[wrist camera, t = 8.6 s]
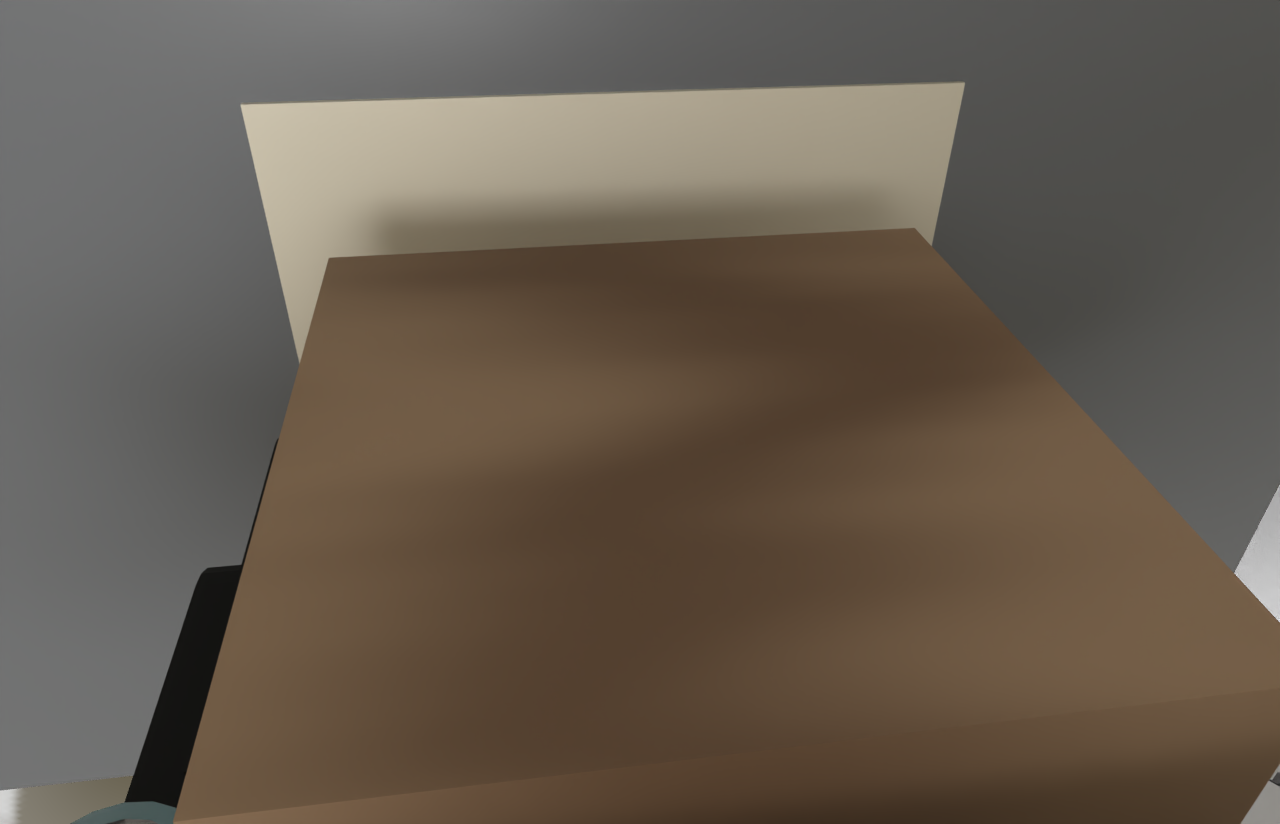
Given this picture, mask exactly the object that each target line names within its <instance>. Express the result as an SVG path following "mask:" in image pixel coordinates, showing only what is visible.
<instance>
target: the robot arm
mask: <svg viewBox="0 0 1280 824" xmlns="http://www.w3.org/2000/svg"><path fill="white" fill-rule="evenodd" d="M278 440H279V438H278V439H277V441H276V443H275V446H274V449H273V453H272V457H271V460H270V464H269V467H268V471H267V474H266V478H265V482H264V485H263V489H262V492H261V496H260V500H259V503H258V507H257V510H256V514H255V517H254V521H253V525H252V528H251V532H250V535H249V539H248V542H247V546H246V550H245V553H244V557H243V560H242V564H241V565H232V566H221V567H210V568H206V569H205V570H204V571H203V572H202V573H201V575H200V577H199V579H198V581H197V584H196V586H195V589H194V592H193V595H192V598H191V601H190V604H189V607H188V610H187V613H186V616H185V619H184V622H183V626H182V629H181V632H180V635H179V638H178V641H177V644H176V647H175V650H174V653H173V656H172V659H171V662H170V665H169V668H168V671H167V674H166V678H165V681H164V684H163V687H162V690H161V693H160V696H159V699H158V702H157V705H156V708H155V711H154V714H153V717H152V720H151V723H150V726H149V730H148V733H147V736H146V739H145V742H144V745H143V748H142V751H141V754H140V757H139V760H138V763H137V766H136V769H135V772H134V775H133V778H132V782H131V785H130V788H129V791H128V794H127V797H126V800H125V803H121V804H118V805H114V806H111V807H107V808H104V809H101V810H97V811H94V812H91V813H89V814H88V815H86V816H84V817H82V818H80V819H78V820H76V821H75V822H73V823H71V824H174V823H173V820H174V816H175V812H176V809H177V805H178V802H179V798H180V794H181V791H182V787H183V784H184V780H185V776H186V773H187V769H188V765H189V762H190V758H191V755H192V751H193V747H194V744H195V740H196V737H197V733H198V729H199V726H200V722H201V718H202V715H203V711H204V708H205V704H206V700H207V697H208V693H209V690H210V686H211V682H212V679H213V675H214V671H215V668H216V664H217V661H218V657H219V653H220V650H221V646H222V643H223V639H224V635H225V632H226V628H227V624H228V621H229V617H230V614H231V610H232V606H233V603H234V599H235V596H236V592H237V588H238V585H239V581H240V577H241V574H242V570H243V567H244V563H245V559H246V556H247V552H248V549H249V545H250V541H251V538H252V534H253V530H254V527H255V523H256V520H257V516H258V512H259V509H260V505H261V501H262V498H263V494H264V491H265V487H266V483H267V480H268V476H269V473H270V469H271V465H272V462H273V458H274V454H275V451H276V447H277V444H278ZM1241 824H1280V764H1279V766H1278V767H1277V769H1276V770H1275V772H1274V773H1273V775H1272V777H1271V778H1270V780H1269V781H1268V783H1267V784H1266V786H1265V787H1264V789H1263V790H1262V792H1261V793H1260V795H1259V796H1258V798H1257V799H1256V801H1255V802H1254V804H1253V806H1252V807H1251V809H1250V810H1249V812H1248V813H1247V815H1246V816H1245V818H1244V819H1243V821H1242V822H1241Z"/></svg>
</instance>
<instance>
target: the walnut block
mask: <svg viewBox="0 0 1280 824" xmlns="http://www.w3.org/2000/svg"><path fill="white" fill-rule="evenodd" d="M1279 764H1280V623H1279V622H1278V620H1277V619H1276V618H1275V617H1274V616H1273V615H1272V614H1271V613H1270V612H1269V611H1268V610H1267V609H1266V607H1265V606H1264V605H1263V604H1262V603H1261V602H1260V601H1259V600H1258V599H1257V598H1256V597H1255V596H1254V594H1253V593H1252V592H1251V591H1250V590H1249V589H1248V588H1247V587H1246V586H1245V585H1244V584H1243V583H1242V581H1241V580H1240V579H1239V578H1238V577H1237V576H1236V575H1235V574H1234V573H1233V572H1232V571H1231V570H1230V568H1229V567H1228V566H1227V565H1226V564H1225V563H1224V562H1223V561H1222V560H1221V559H1220V558H1219V557H1218V555H1217V554H1216V553H1215V552H1214V551H1213V550H1212V549H1211V548H1210V547H1209V546H1208V545H1207V544H1206V543H1205V541H1204V540H1203V539H1202V538H1201V537H1200V536H1199V535H1198V534H1197V533H1196V532H1195V531H1194V530H1193V528H1192V527H1191V526H1190V525H1189V524H1188V523H1187V522H1186V521H1185V520H1184V519H1183V518H1182V517H1181V515H1180V514H1179V513H1178V512H1177V511H1176V510H1175V509H1174V508H1173V507H1172V506H1171V505H1170V504H1169V502H1168V501H1167V500H1166V499H1165V498H1164V497H1163V496H1162V495H1161V494H1160V493H1159V492H1158V491H1157V489H1156V488H1155V487H1154V486H1153V485H1152V484H1151V483H1150V482H1149V481H1148V480H1147V479H1146V478H1145V477H1144V475H1143V474H1142V473H1141V472H1140V471H1139V470H1138V469H1137V468H1136V467H1135V466H1134V465H1133V464H1132V462H1131V461H1130V460H1129V459H1128V458H1127V457H1126V456H1125V455H1124V454H1123V453H1122V452H1121V451H1120V449H1119V448H1118V447H1117V446H1116V445H1115V444H1114V443H1113V442H1112V441H1111V440H1110V439H1109V438H1108V436H1107V435H1106V434H1105V433H1104V432H1103V431H1102V430H1101V429H1100V428H1099V427H1098V426H1097V425H1096V423H1095V422H1094V421H1093V420H1092V419H1091V418H1090V417H1089V416H1088V415H1087V414H1086V413H1085V412H1084V411H1083V409H1082V408H1081V407H1080V406H1079V405H1078V404H1077V403H1076V402H1075V401H1074V400H1073V399H1072V398H1071V396H1070V395H1069V394H1068V393H1067V392H1066V391H1065V390H1064V389H1063V388H1062V387H1061V386H1060V385H1059V383H1058V382H1057V381H1056V380H1055V379H1054V378H1053V377H1052V376H1051V375H1050V374H1049V373H1048V372H1047V370H1046V369H1045V368H1044V367H1043V366H1042V365H1041V364H1040V363H1039V362H1038V361H1037V360H1036V359H1035V357H1034V356H1033V355H1032V354H1031V353H1030V352H1029V351H1028V350H1027V349H1026V348H1025V347H1024V346H1023V345H1022V343H1021V342H1020V341H1019V340H1018V339H1017V338H1016V337H1015V336H1014V335H1013V334H1012V333H1011V332H1010V330H1009V329H1008V328H1007V327H1006V326H1005V325H1004V324H1003V323H1002V322H1001V321H1000V320H999V319H998V317H997V316H996V315H995V314H994V313H993V312H992V311H991V310H990V309H989V308H988V307H987V306H986V304H985V303H984V302H983V301H982V300H981V299H980V298H979V297H978V296H977V295H976V294H975V293H974V291H973V290H972V289H971V288H970V287H969V286H968V285H967V284H966V283H965V282H964V281H963V280H962V278H961V277H960V276H959V275H958V274H957V273H956V272H955V271H954V270H953V269H952V268H951V267H950V266H949V264H948V263H947V262H946V261H945V260H944V259H943V258H942V257H941V256H940V255H939V254H938V253H937V251H936V250H935V249H934V248H933V247H932V246H931V245H930V244H929V243H928V242H927V241H926V240H925V238H924V237H923V236H922V235H921V234H920V233H919V232H918V231H917V230H916V229H915V228H903V229H884V230H864V231H844V232H825V233H805V234H785V235H766V236H746V237H726V238H707V239H687V240H667V241H648V242H628V243H608V244H589V245H569V246H549V247H530V248H510V249H490V250H471V251H451V252H431V253H412V254H392V255H372V256H353V257H333V258H329V259H328V263H327V266H326V270H325V274H324V277H323V281H322V285H321V288H320V292H319V295H318V299H317V303H316V306H315V310H314V313H313V317H312V321H311V324H310V328H309V332H308V335H307V339H306V342H305V346H304V350H303V353H302V357H301V360H300V364H299V368H298V371H297V375H296V379H295V382H294V386H293V389H292V393H291V397H290V400H289V404H288V407H287V411H286V415H285V418H284V422H283V426H282V429H281V433H280V436H279V440H278V444H277V447H276V451H275V454H274V458H273V462H272V465H271V469H270V473H269V476H268V480H267V483H266V487H265V491H264V494H263V498H262V501H261V505H260V509H259V512H258V516H257V520H256V523H255V527H254V530H253V534H252V538H251V541H250V545H249V549H248V552H247V556H246V559H245V563H244V567H243V570H242V574H241V577H240V581H239V585H238V588H237V592H236V596H235V599H234V603H233V606H232V610H231V614H230V617H229V621H228V624H227V628H226V632H225V635H224V639H223V643H222V646H221V650H220V653H219V657H218V661H217V664H216V668H215V671H214V675H213V679H212V682H211V686H210V690H209V693H208V697H207V700H206V704H205V708H204V711H203V715H202V718H201V722H200V726H199V729H198V733H197V737H196V740H195V744H194V747H193V751H192V755H191V758H190V762H189V765H188V769H187V773H186V776H185V780H184V784H183V787H182V791H181V794H180V798H179V802H178V805H177V809H176V812H175V816H174V820H173V823H174V824H1241V822H1242V821H1243V819H1244V818H1245V816H1246V815H1247V813H1248V812H1249V810H1250V809H1251V807H1252V806H1253V804H1254V802H1255V801H1256V799H1257V798H1258V796H1259V795H1260V793H1261V792H1262V790H1263V789H1264V787H1265V786H1266V784H1267V783H1268V781H1269V780H1270V778H1271V777H1272V775H1273V773H1274V772H1275V770H1276V769H1277V767H1278V766H1279Z"/></svg>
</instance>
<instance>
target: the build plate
mask: <svg viewBox="0 0 1280 824" xmlns="http://www.w3.org/2000/svg"><path fill="white" fill-rule="evenodd" d="M903 228H915V229H916V230H917V231H918V232H919V233H920V234H921V235H922V236H923V237H924V238H925V240H926V241H927V242H928V243H929V244H930V245H931V246H932V247H933V248H934V249H935V250H936V251H937V253H938V254H939V255H940V256H941V257H942V258H943V259H944V260H945V261H946V262H947V263H948V264H949V266H950V267H951V268H952V269H953V270H954V271H955V272H956V273H957V274H958V275H959V276H960V277H961V278H962V280H963V281H964V282H965V283H966V284H967V285H968V286H969V287H970V288H971V289H972V290H973V291H974V293H975V294H976V295H977V296H978V297H979V298H980V299H981V300H982V301H983V302H984V303H985V304H986V306H987V307H988V308H989V309H990V310H991V311H992V312H993V313H994V314H995V315H996V316H997V317H998V319H999V320H1000V321H1001V322H1002V323H1003V324H1004V325H1005V326H1006V327H1007V328H1008V329H1009V330H1010V332H1011V333H1012V334H1013V335H1014V336H1015V337H1016V338H1017V339H1018V340H1019V341H1020V342H1021V343H1022V345H1023V346H1024V347H1025V348H1026V349H1027V350H1028V351H1029V352H1030V353H1031V354H1032V355H1033V356H1034V357H1035V359H1036V360H1037V361H1038V362H1039V363H1040V364H1041V365H1042V366H1043V367H1044V368H1045V369H1046V370H1047V372H1048V373H1049V374H1050V375H1051V376H1052V377H1053V378H1054V379H1055V380H1056V381H1057V382H1058V383H1059V385H1060V386H1061V387H1062V388H1063V389H1064V390H1065V391H1066V392H1067V393H1068V394H1069V395H1070V396H1071V398H1072V399H1073V400H1074V401H1075V402H1076V403H1077V404H1078V405H1079V406H1080V407H1081V408H1082V409H1083V411H1084V412H1085V413H1086V414H1087V415H1088V416H1089V417H1090V418H1091V419H1092V420H1093V421H1094V422H1095V423H1096V425H1097V426H1098V427H1099V428H1100V429H1101V430H1102V431H1103V432H1104V433H1105V434H1106V435H1107V436H1108V438H1109V439H1110V440H1111V441H1112V442H1113V443H1114V444H1115V445H1116V446H1117V447H1118V448H1119V449H1120V451H1121V452H1122V453H1123V454H1124V455H1125V456H1126V457H1127V458H1128V459H1129V460H1130V461H1131V462H1132V464H1133V465H1134V466H1135V467H1136V468H1137V469H1138V470H1139V471H1140V472H1141V473H1142V474H1143V475H1144V477H1145V478H1146V479H1147V480H1148V481H1149V482H1150V483H1151V484H1152V485H1153V486H1154V487H1155V488H1156V489H1157V491H1158V492H1159V493H1160V494H1161V495H1162V496H1163V497H1164V498H1165V499H1166V500H1167V501H1168V502H1169V504H1170V505H1171V506H1172V507H1173V508H1174V509H1175V510H1176V511H1177V512H1178V513H1179V514H1180V515H1181V517H1182V518H1183V519H1184V520H1185V521H1186V522H1187V523H1188V524H1189V525H1190V526H1191V527H1192V528H1193V530H1194V531H1195V532H1196V533H1197V534H1198V535H1199V536H1200V537H1201V538H1202V539H1203V540H1204V541H1205V543H1206V544H1207V545H1208V546H1209V547H1210V548H1211V549H1212V550H1213V551H1214V552H1215V553H1216V554H1217V555H1218V557H1219V558H1220V559H1221V560H1222V561H1223V562H1224V563H1225V564H1226V565H1227V566H1228V567H1229V568H1230V570H1231V571H1232V572H1233V573H1234V572H1235V570H1236V568H1237V566H1238V564H1239V562H1240V560H1241V558H1242V556H1243V554H1244V552H1245V550H1246V548H1247V546H1248V544H1249V543H1250V541H1251V539H1252V537H1253V535H1254V533H1255V531H1256V529H1257V527H1258V525H1259V523H1260V521H1261V519H1262V517H1263V515H1264V513H1265V511H1266V510H1267V508H1268V506H1269V504H1270V502H1271V500H1272V498H1273V496H1274V494H1275V492H1276V490H1277V488H1278V486H1279V484H1280V0H0V790H8V789H17V788H26V787H35V786H43V785H53V784H62V783H70V782H80V781H88V780H97V779H105V778H115V777H124V776H133V775H134V772H135V769H136V766H137V763H138V760H139V757H140V754H141V751H142V748H143V745H144V742H145V739H146V736H147V733H148V730H149V726H150V723H151V720H152V717H153V714H154V711H155V708H156V705H157V702H158V699H159V696H160V693H161V690H162V687H163V684H164V681H165V678H166V674H167V671H168V668H169V665H170V662H171V659H172V656H173V653H174V650H175V647H176V644H177V641H178V638H179V635H180V632H181V629H182V626H183V622H184V619H185V616H186V613H187V610H188V607H189V604H190V601H191V598H192V595H193V592H194V589H195V586H196V584H197V581H198V579H199V577H200V575H201V573H202V572H203V571H204V570H205V569H206V568H210V567H221V566H232V565H241V564H242V560H243V557H244V553H245V550H246V546H247V542H248V539H249V535H250V532H251V528H252V525H253V521H254V517H255V514H256V510H257V507H258V503H259V500H260V496H261V492H262V489H263V485H264V482H265V478H266V474H267V471H268V467H269V464H270V460H271V457H272V453H273V449H274V446H275V443H276V441H277V439H278V438H279V436H280V433H281V429H282V426H283V422H284V418H285V415H286V411H287V407H288V404H289V400H290V397H291V393H292V389H293V386H294V382H295V379H296V375H297V371H298V368H299V364H300V360H301V357H302V353H303V350H304V346H305V342H306V339H307V335H308V332H309V328H310V324H311V321H312V317H313V313H314V310H315V306H316V303H317V299H318V295H319V292H320V288H321V285H322V281H323V277H324V274H325V270H326V266H327V263H328V259H329V258H333V257H353V256H372V255H392V254H412V253H431V252H451V251H471V250H490V249H510V248H530V247H549V246H569V245H589V244H608V243H628V242H648V241H667V240H687V239H707V238H726V237H746V236H766V235H785V234H805V233H825V232H844V231H864V230H884V229H903Z"/></svg>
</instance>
